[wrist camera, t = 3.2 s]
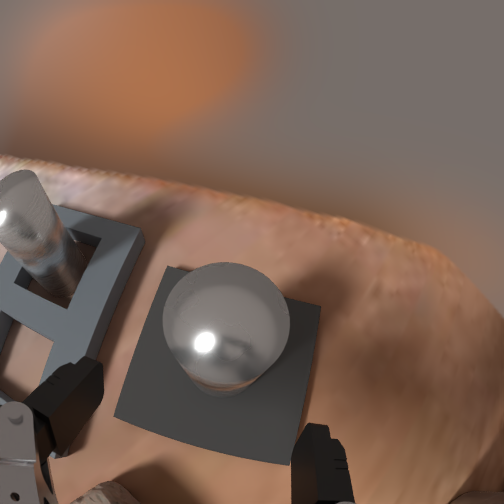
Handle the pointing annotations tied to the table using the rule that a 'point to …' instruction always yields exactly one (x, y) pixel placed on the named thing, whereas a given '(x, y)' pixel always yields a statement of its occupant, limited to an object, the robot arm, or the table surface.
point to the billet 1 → (38, 235)
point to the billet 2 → (225, 326)
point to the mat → (216, 408)
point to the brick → (107, 495)
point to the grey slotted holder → (84, 299)
